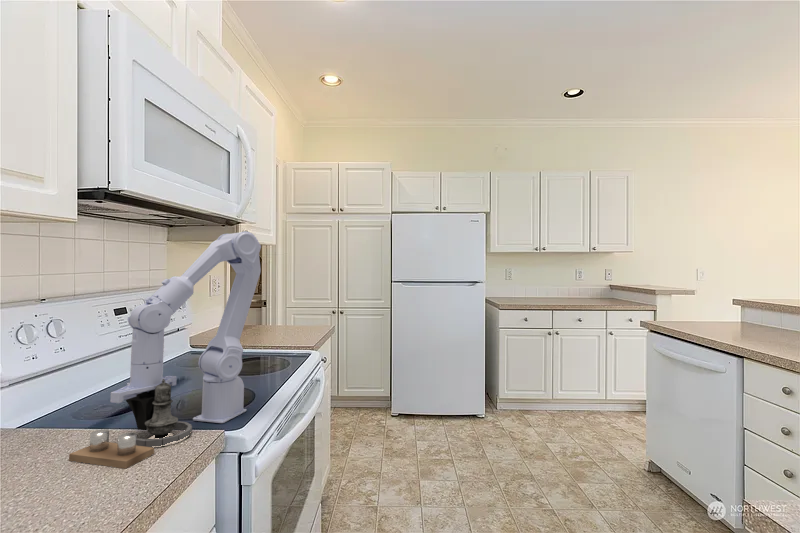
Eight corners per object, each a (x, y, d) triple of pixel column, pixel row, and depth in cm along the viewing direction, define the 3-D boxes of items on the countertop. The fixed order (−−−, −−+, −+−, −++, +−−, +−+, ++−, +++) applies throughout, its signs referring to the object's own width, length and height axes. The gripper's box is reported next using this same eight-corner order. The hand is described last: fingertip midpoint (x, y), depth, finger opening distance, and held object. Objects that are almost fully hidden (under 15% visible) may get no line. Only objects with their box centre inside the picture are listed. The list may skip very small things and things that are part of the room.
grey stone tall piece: (158, 446, 79) (161, 383, 79) (136, 441, 81) (139, 380, 81) (184, 435, 84) (186, 377, 85) (163, 431, 86) (165, 374, 87)
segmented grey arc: (175, 427, 89) (175, 420, 89) (202, 430, 87) (202, 423, 87) (132, 447, 78) (132, 439, 78) (162, 451, 76) (163, 443, 76)
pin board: (100, 447, 78) (101, 425, 78) (154, 454, 75) (155, 431, 75) (68, 460, 72) (70, 436, 72) (125, 468, 69) (126, 443, 69)
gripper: (158, 355, 92) (156, 415, 92) (98, 367, 78) (95, 439, 78) (185, 356, 91) (183, 418, 90) (129, 370, 77) (126, 443, 76)
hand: (144, 428), depth 84 cm, fingers closed, pressing on grey stone tall piece
